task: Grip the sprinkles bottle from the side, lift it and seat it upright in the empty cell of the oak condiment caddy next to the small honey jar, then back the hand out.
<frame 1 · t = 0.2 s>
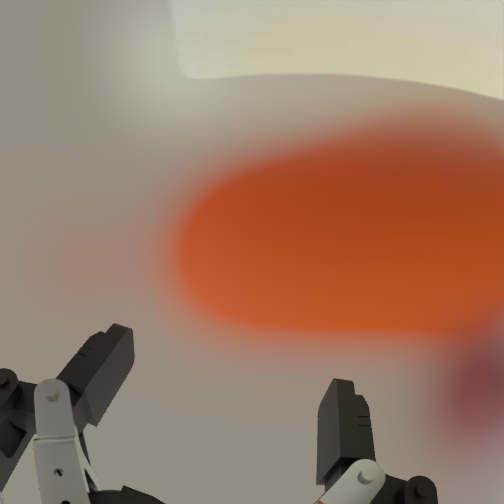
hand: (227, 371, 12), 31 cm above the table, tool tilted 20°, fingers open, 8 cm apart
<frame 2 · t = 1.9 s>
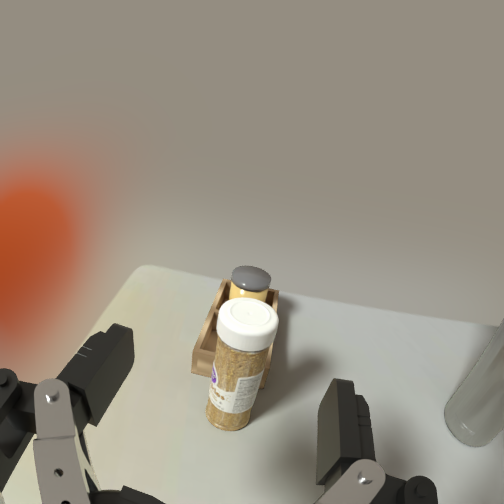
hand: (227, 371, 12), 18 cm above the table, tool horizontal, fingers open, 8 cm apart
caddy: (238, 337, 40), on the table
honey jar: (243, 317, 44), resting on caddy
sprinkles bottle: (227, 416, 29), on the table
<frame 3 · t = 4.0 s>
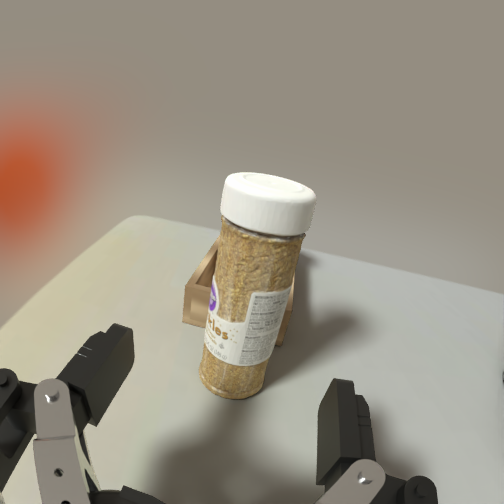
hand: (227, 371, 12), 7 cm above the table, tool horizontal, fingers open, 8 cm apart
caddy: (246, 286, 32), on the table
sprinkles bottle: (231, 379, 21), on the table
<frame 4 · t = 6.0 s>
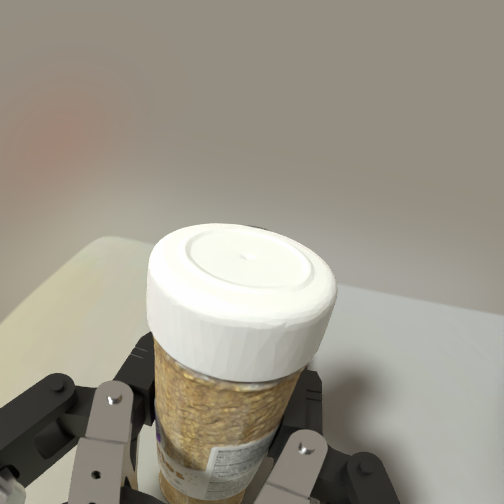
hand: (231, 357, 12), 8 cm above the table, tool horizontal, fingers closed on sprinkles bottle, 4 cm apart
sprinkles bottle: (202, 485, 13), on the table, touching gripper
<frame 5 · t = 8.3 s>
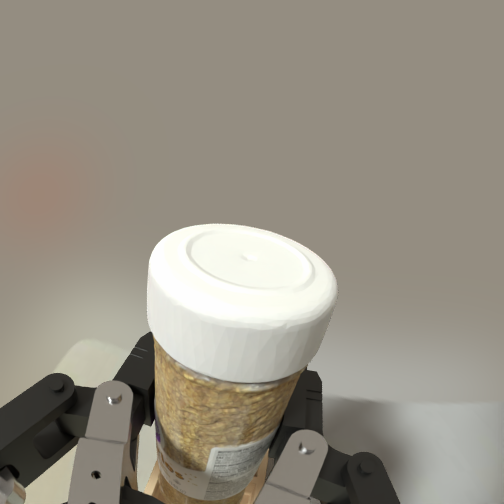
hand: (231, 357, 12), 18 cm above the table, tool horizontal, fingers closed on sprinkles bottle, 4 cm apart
caddy: (207, 485, 21), on the table
sprinkles bottle: (202, 485, 13), point 10 cm above the table, touching gripper
when the fingers open (9 cm above the table, at t = 10.2 s): sprinkles bottle stays where it is, resting on caddy.
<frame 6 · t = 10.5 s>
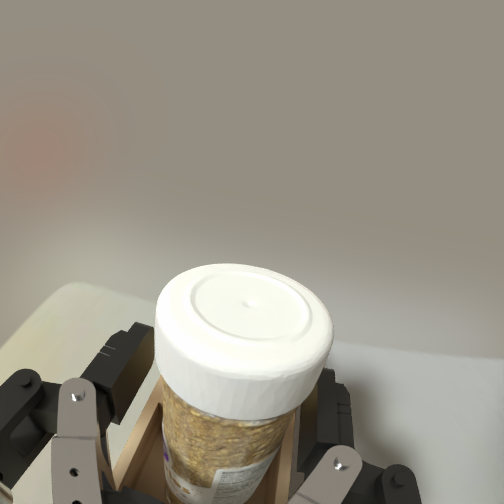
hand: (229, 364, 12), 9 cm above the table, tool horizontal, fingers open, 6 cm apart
caddy: (215, 444, 17), on the table
sprinkles bottle: (206, 495, 13), resting on caddy
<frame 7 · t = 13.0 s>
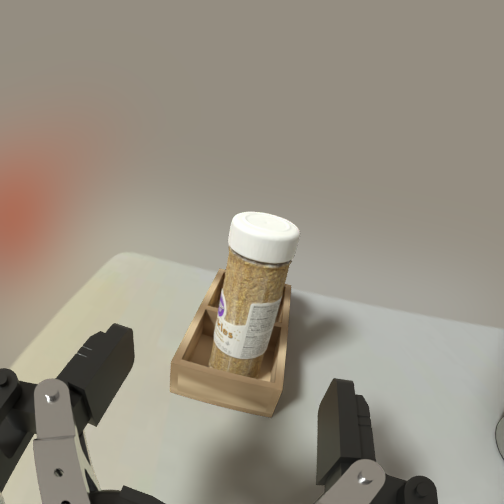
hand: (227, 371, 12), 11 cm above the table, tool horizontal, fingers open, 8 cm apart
caddy: (237, 345, 30), on the table
sprinkles bottle: (233, 371, 26), resting on caddy
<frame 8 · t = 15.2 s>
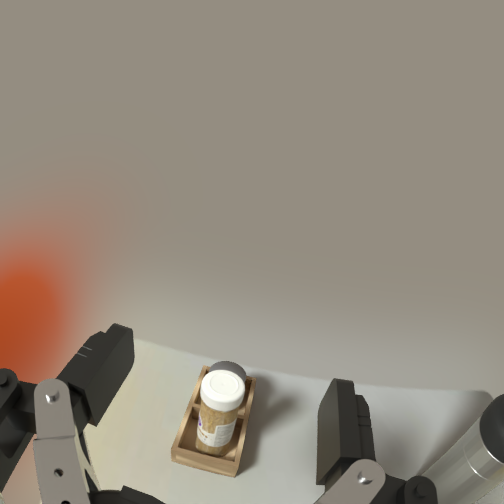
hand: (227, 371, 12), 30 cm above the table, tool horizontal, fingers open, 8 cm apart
caddy: (215, 424, 40), on the table
honey jar: (221, 403, 43), resting on caddy
sprinkles bottle: (212, 446, 36), resting on caddy
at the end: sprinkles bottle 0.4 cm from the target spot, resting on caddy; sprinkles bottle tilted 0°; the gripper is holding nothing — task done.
